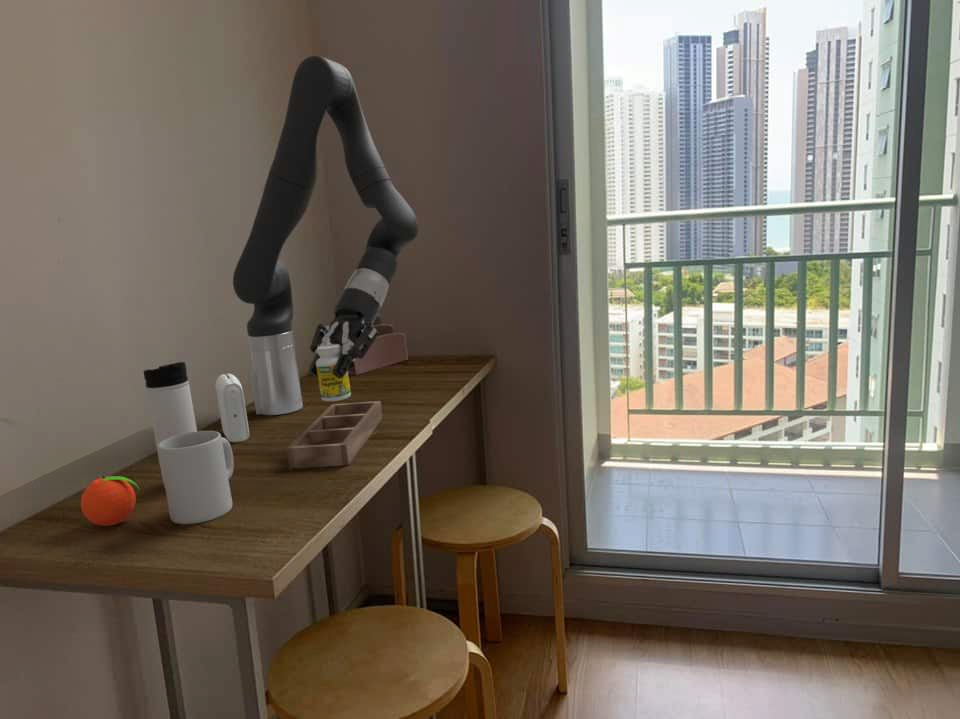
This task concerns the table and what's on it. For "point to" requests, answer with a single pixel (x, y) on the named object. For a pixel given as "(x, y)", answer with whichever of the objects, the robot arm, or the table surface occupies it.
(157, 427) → the travel mug
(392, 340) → the letter holder
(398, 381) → the table surface
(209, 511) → the mug
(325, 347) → the supplement bottle
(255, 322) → the robot arm
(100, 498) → the clementine
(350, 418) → the compartment tray
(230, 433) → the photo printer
